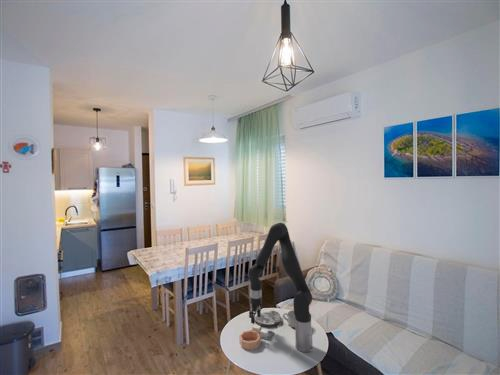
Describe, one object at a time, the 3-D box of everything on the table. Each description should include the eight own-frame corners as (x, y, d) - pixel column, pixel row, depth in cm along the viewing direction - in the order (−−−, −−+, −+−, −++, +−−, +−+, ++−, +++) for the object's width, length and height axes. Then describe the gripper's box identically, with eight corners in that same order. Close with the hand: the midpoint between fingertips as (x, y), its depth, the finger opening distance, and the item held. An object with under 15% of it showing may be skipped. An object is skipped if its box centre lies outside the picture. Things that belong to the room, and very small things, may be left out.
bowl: (263, 340, 162) (263, 333, 162) (254, 352, 152) (254, 344, 152) (246, 335, 168) (246, 328, 168) (236, 346, 157) (236, 339, 157)
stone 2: (268, 335, 167) (268, 330, 167) (266, 338, 164) (266, 333, 164) (262, 334, 169) (262, 328, 169) (260, 336, 166) (260, 331, 166)
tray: (273, 333, 170) (273, 331, 170) (268, 341, 162) (268, 339, 162) (254, 328, 176) (254, 326, 176) (248, 335, 168) (248, 333, 168)
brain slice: (264, 332, 172) (264, 327, 172) (250, 320, 186) (250, 316, 186) (287, 322, 183) (287, 318, 183) (272, 312, 197) (272, 308, 197)
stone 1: (260, 331, 172) (260, 326, 171) (258, 334, 169) (258, 328, 168) (254, 329, 174) (254, 324, 174) (252, 332, 171) (252, 327, 171)
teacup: (305, 324, 180) (305, 312, 180) (300, 332, 171) (299, 320, 171) (287, 318, 188) (287, 307, 187) (280, 326, 178) (280, 314, 178)
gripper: (256, 301, 162) (256, 327, 163) (265, 292, 175) (265, 316, 176) (245, 298, 166) (245, 323, 167) (255, 290, 178) (255, 313, 179)
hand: (255, 319), depth 171 cm, fingers open, 8 cm apart
